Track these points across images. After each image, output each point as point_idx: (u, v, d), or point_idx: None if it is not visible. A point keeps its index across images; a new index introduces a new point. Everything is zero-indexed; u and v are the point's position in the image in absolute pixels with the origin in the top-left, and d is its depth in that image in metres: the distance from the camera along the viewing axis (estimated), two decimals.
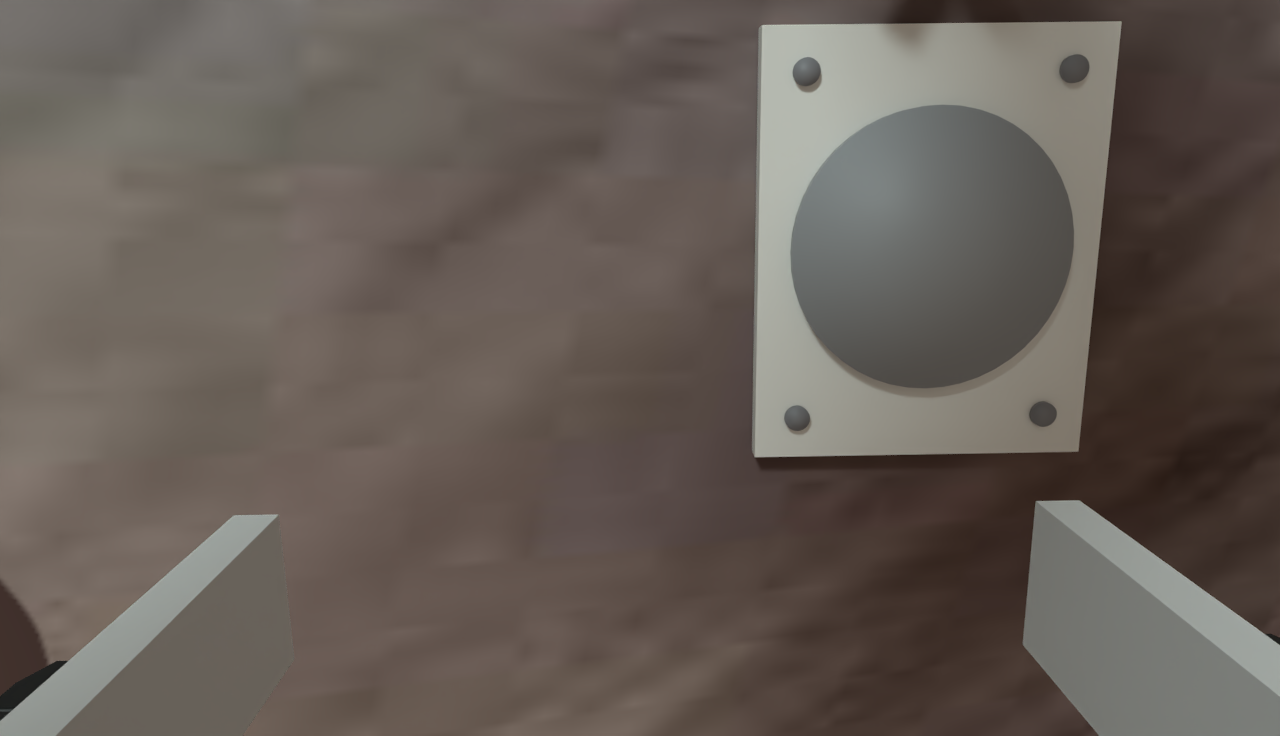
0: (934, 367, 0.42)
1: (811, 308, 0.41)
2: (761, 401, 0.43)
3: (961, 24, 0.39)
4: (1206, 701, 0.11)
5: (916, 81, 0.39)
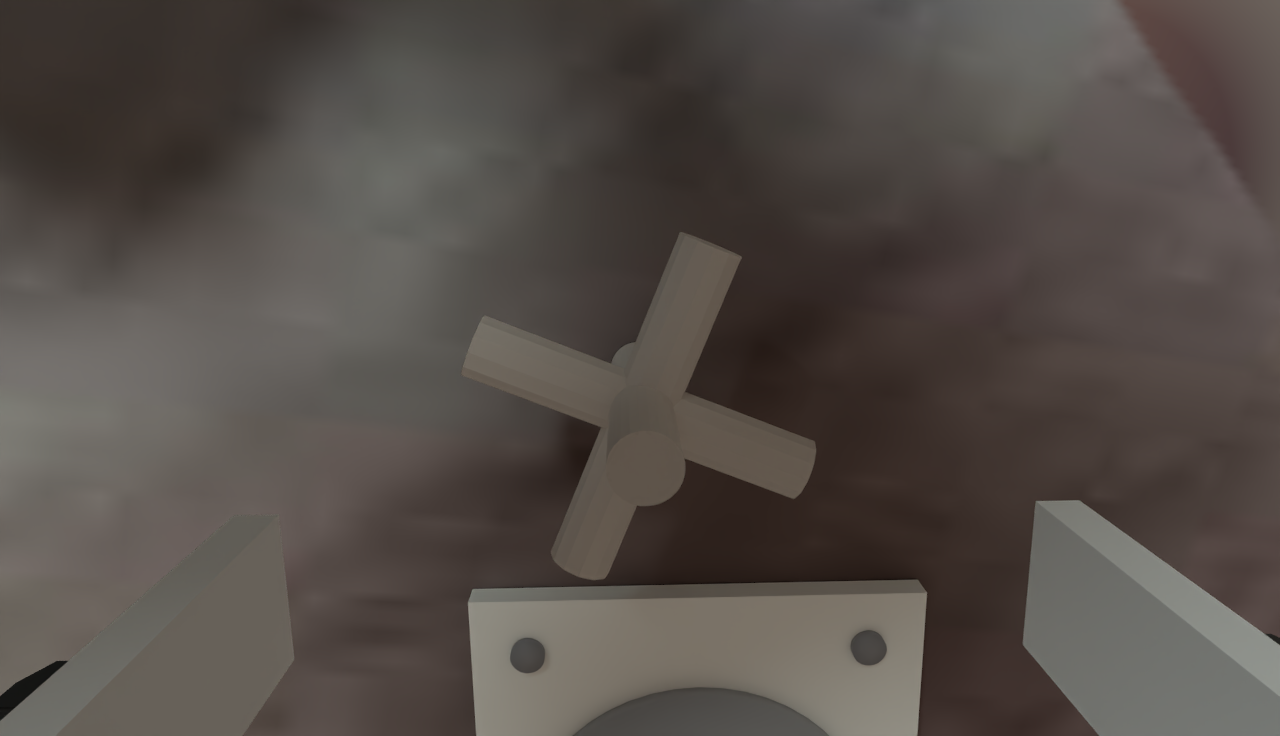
0: None
1: None
2: None
3: (723, 598, 0.31)
4: (1207, 701, 0.11)
5: (670, 662, 0.31)
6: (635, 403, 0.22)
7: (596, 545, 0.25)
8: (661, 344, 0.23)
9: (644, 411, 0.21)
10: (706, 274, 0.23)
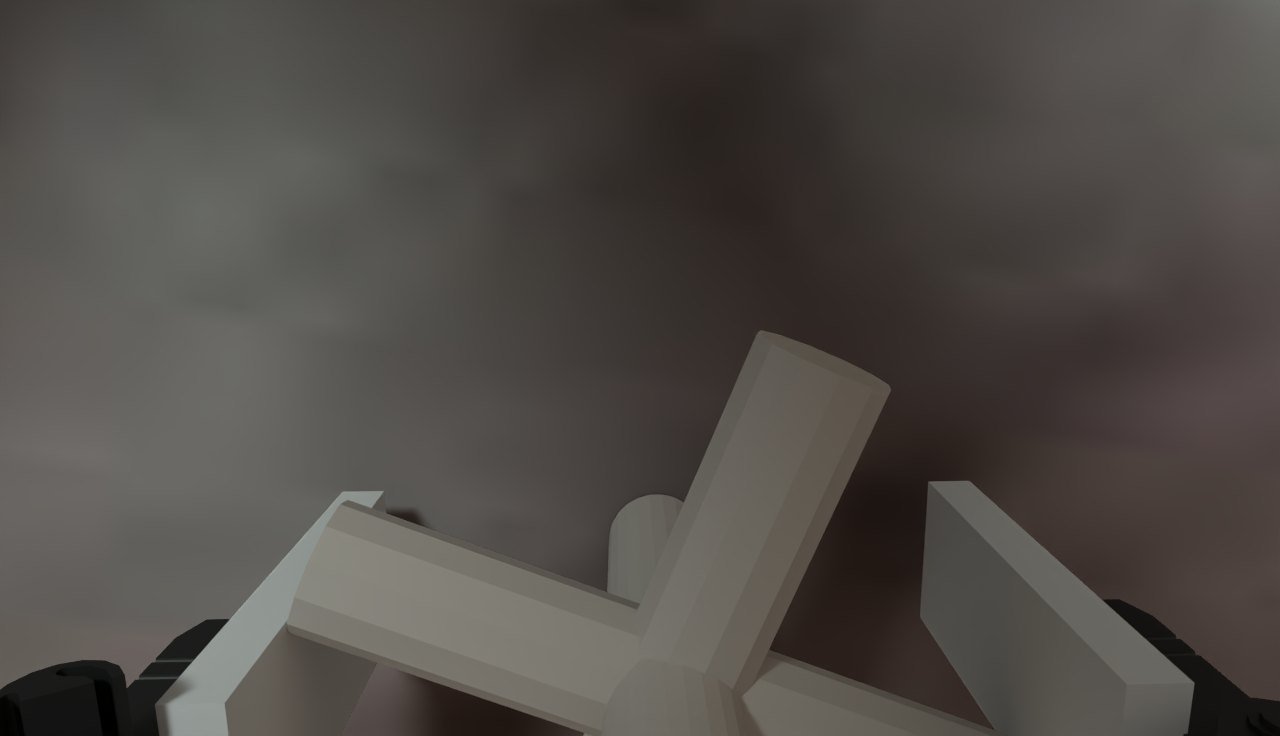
0: None
1: None
2: None
3: None
4: (1044, 657, 0.12)
5: None
6: None
7: None
8: (718, 579, 0.11)
9: None
10: (821, 432, 0.10)
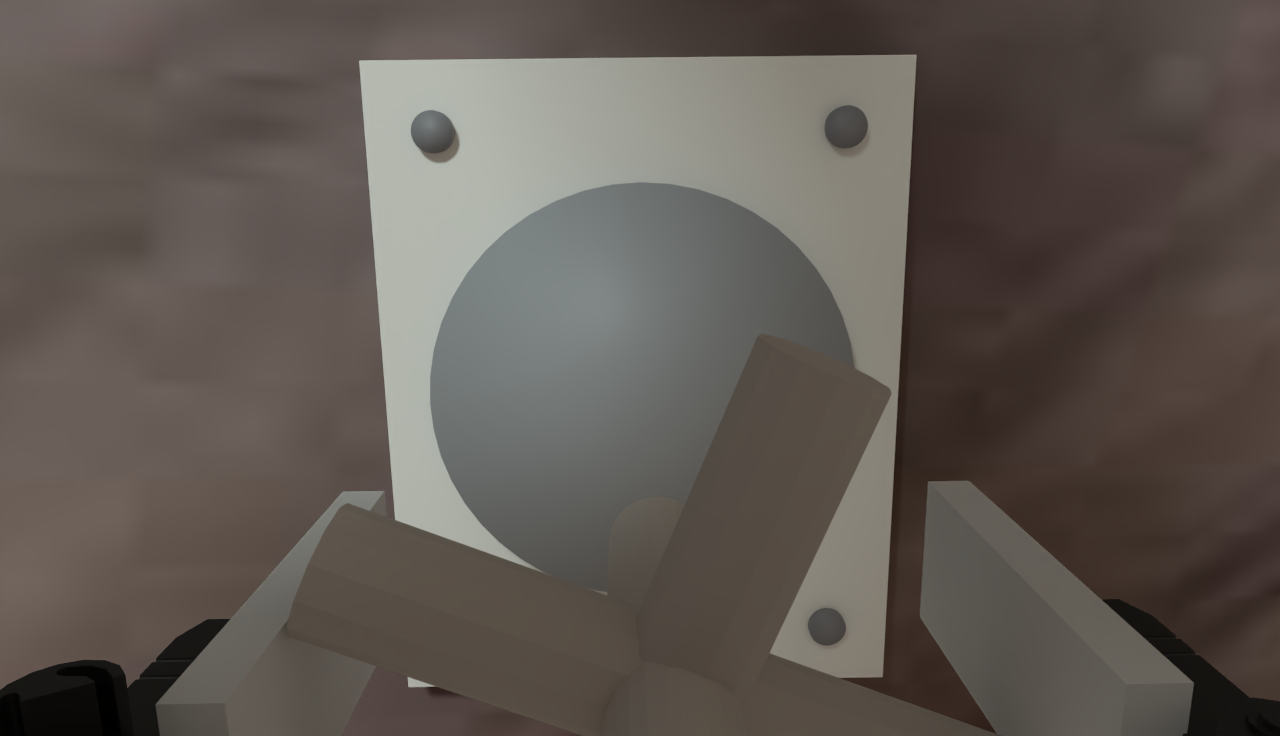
0: None
1: (465, 482, 0.27)
2: None
3: (669, 59, 0.25)
4: (1044, 657, 0.12)
5: (606, 146, 0.26)
6: None
7: None
8: (718, 583, 0.11)
9: None
10: (821, 435, 0.10)
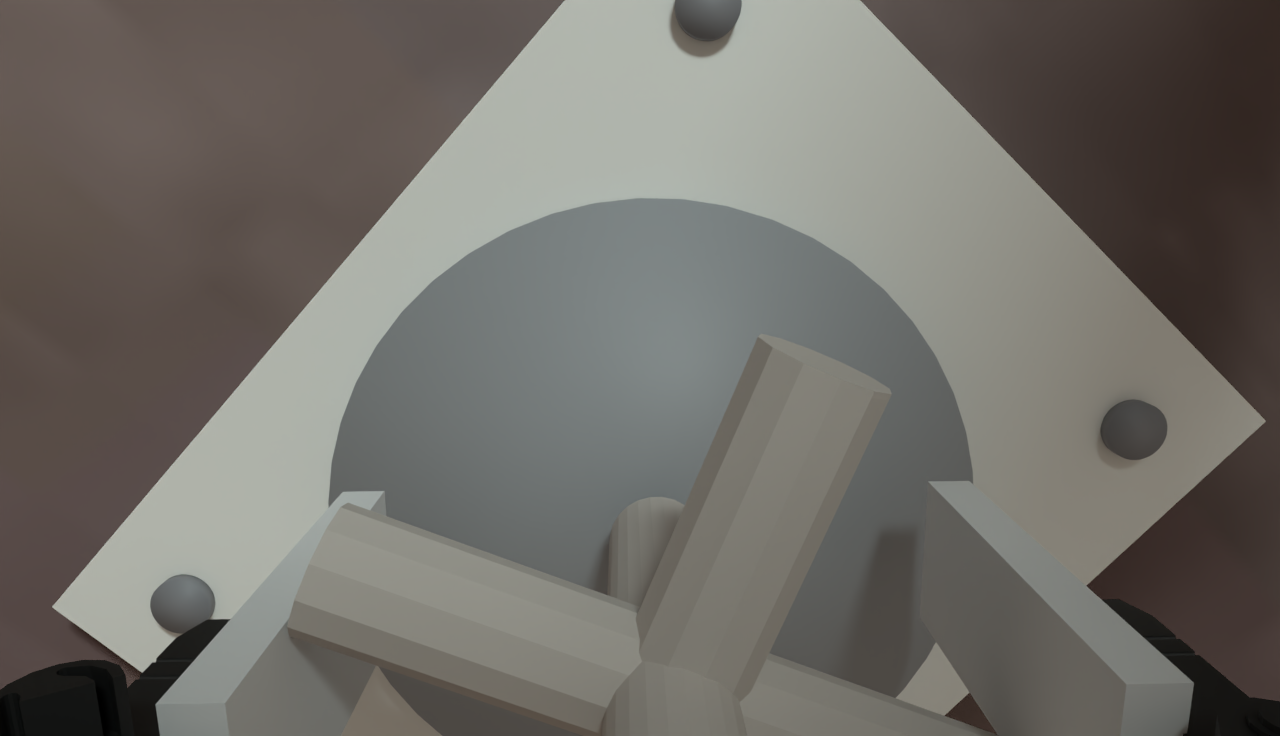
0: (490, 718, 0.19)
1: (356, 439, 0.17)
2: (143, 521, 0.18)
3: (1032, 184, 0.17)
4: (1043, 656, 0.12)
5: (876, 211, 0.17)
6: None
7: None
8: (718, 583, 0.11)
9: None
10: (822, 435, 0.10)
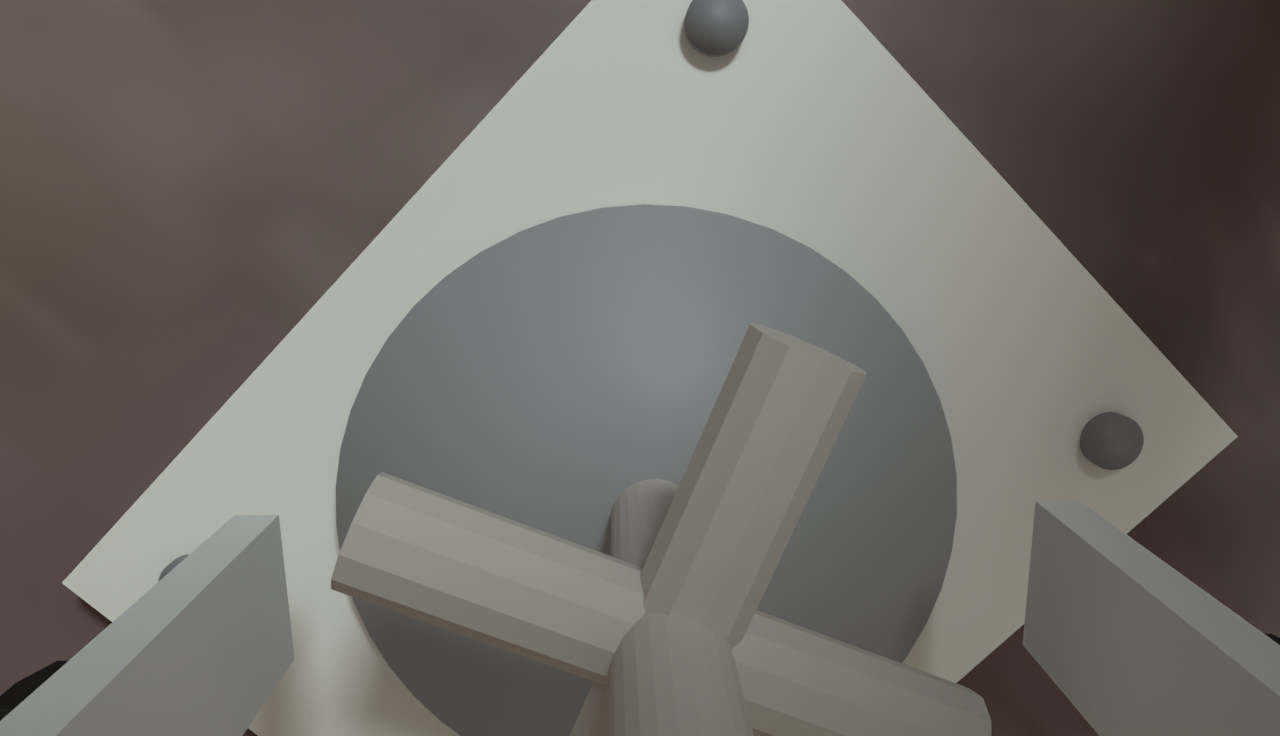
0: (485, 702, 0.19)
1: (364, 428, 0.18)
2: (154, 502, 0.19)
3: (1021, 203, 0.18)
4: (1206, 702, 0.11)
5: (872, 224, 0.18)
6: (668, 685, 0.11)
7: None
8: (713, 540, 0.12)
9: (692, 725, 0.10)
10: (804, 410, 0.12)
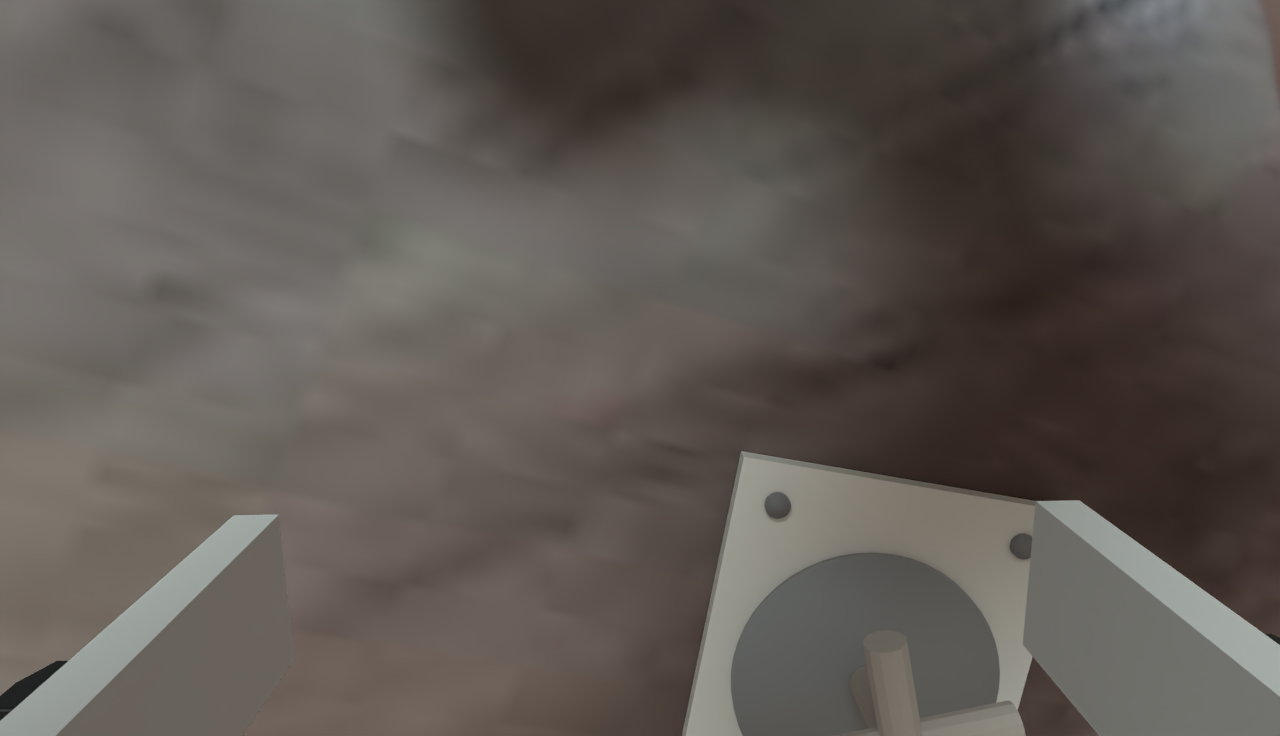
0: None
1: (743, 715, 0.43)
2: None
3: (927, 489, 0.41)
4: (1207, 702, 0.11)
5: (877, 530, 0.42)
6: None
7: None
8: (893, 716, 0.36)
9: None
10: (895, 667, 0.36)
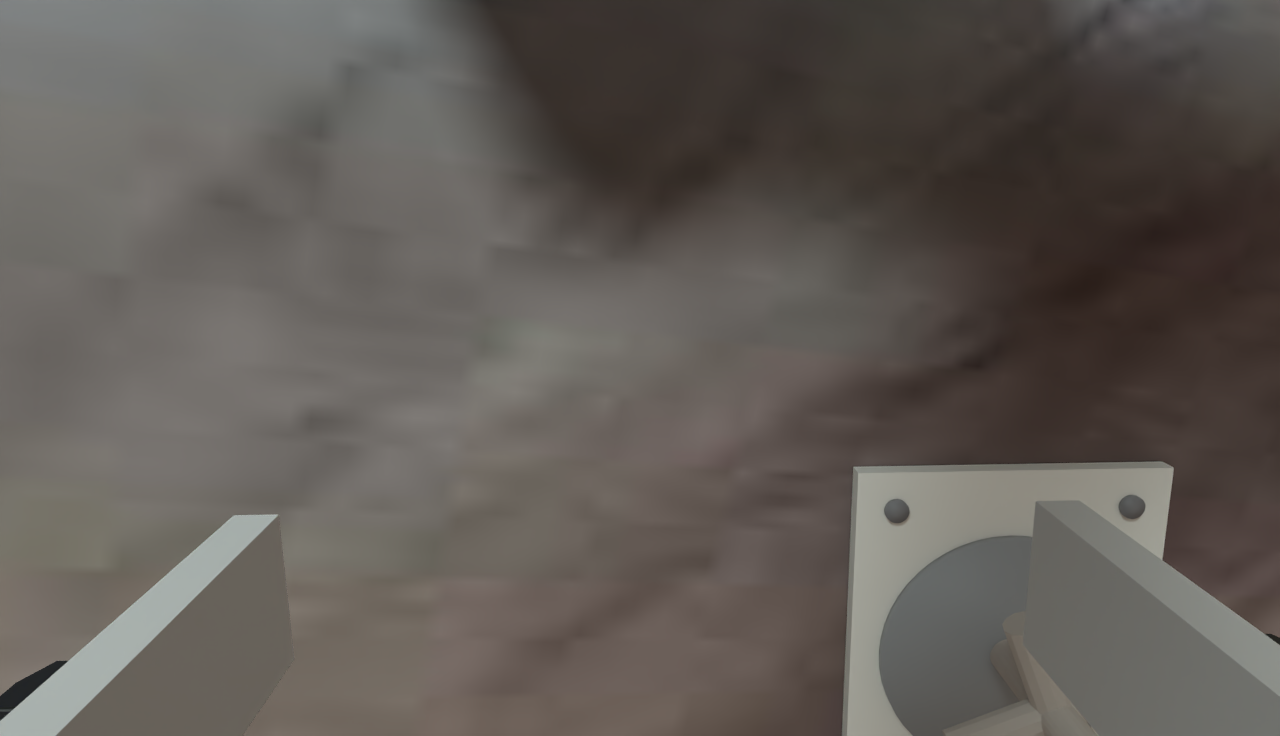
0: None
1: (897, 702, 0.46)
2: None
3: (1033, 471, 0.44)
4: (1206, 702, 0.11)
5: (993, 517, 0.45)
6: None
7: None
8: (1043, 688, 0.40)
9: None
10: None
